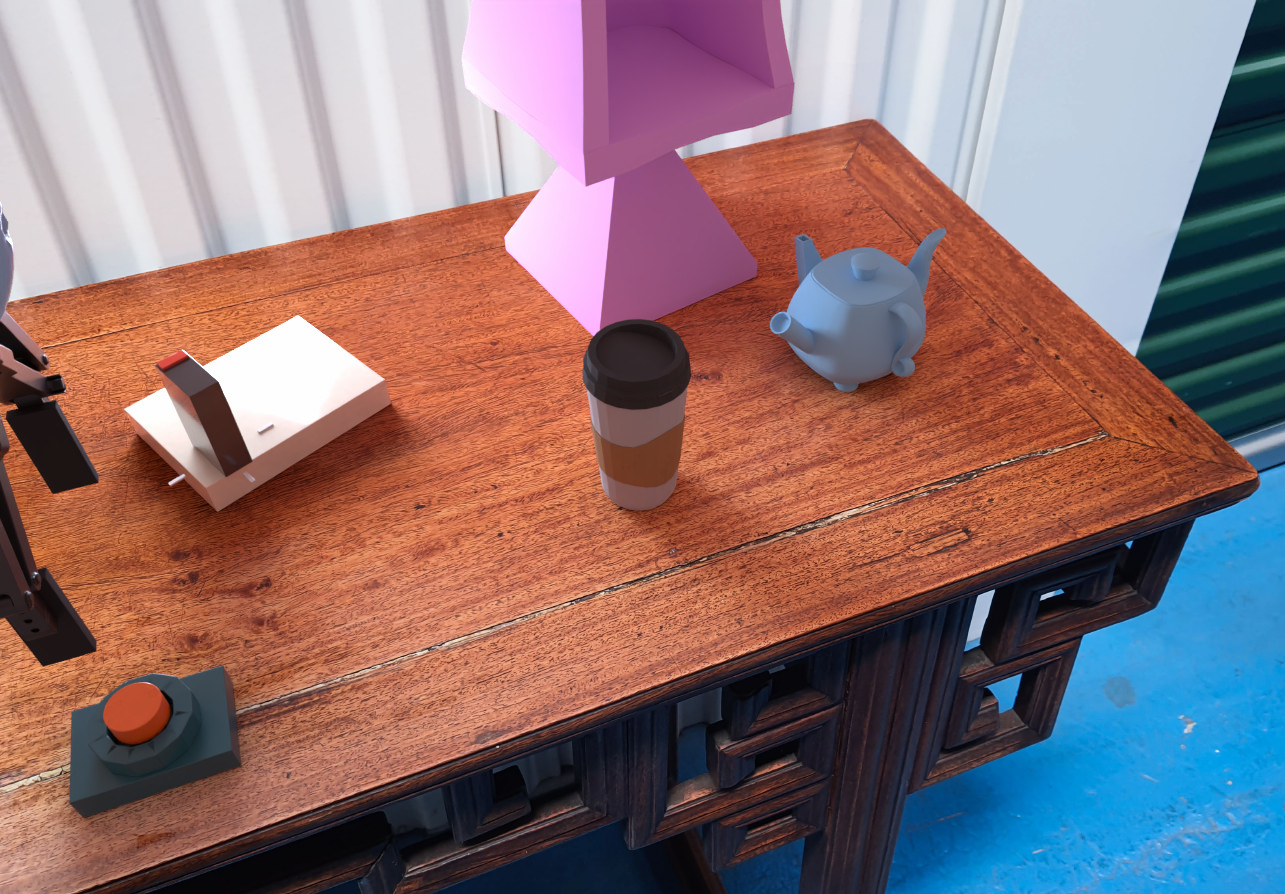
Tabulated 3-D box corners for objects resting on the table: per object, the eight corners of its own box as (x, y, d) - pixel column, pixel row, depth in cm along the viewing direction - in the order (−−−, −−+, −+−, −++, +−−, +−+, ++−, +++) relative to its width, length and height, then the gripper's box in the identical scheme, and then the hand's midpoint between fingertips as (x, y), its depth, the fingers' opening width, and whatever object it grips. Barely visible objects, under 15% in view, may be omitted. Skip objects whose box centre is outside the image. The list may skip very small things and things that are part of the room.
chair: (595, 355, 97) (563, -176, 64) (488, 248, 110) (418, -238, 78) (774, 278, 105) (825, -225, 73) (656, 186, 118) (654, -274, 86)
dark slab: (253, 461, 83) (218, 378, 76) (226, 477, 82) (188, 394, 75) (218, 430, 86) (182, 347, 79) (192, 445, 84) (152, 362, 78)
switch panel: (212, 539, 81) (199, 514, 79) (116, 443, 89) (102, 418, 87) (407, 415, 91) (400, 389, 89) (305, 339, 99) (297, 313, 97)
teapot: (789, 299, 103) (800, 203, 94) (924, 319, 100) (947, 223, 92) (761, 396, 92) (771, 298, 84) (911, 422, 90) (936, 323, 82)
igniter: (83, 818, 65) (56, 790, 62) (84, 727, 69) (59, 697, 66) (241, 766, 67) (223, 736, 64) (232, 681, 72) (214, 650, 69)
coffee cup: (644, 436, 89) (642, 301, 78) (708, 488, 84) (715, 352, 74) (570, 481, 85) (557, 345, 74) (633, 538, 80) (628, 403, 70)
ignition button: (113, 752, 64) (102, 739, 63) (113, 706, 66) (102, 692, 65) (172, 734, 65) (162, 720, 64) (169, 688, 67) (160, 674, 66)
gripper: (-168, 147, 51) (17, 441, 66) (-302, 471, 35) (-15, 767, 49) (-9, 122, 53) (136, 413, 68) (-63, 418, 36) (145, 718, 51)
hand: (73, 563), depth 59 cm, fingers open, 13 cm apart
